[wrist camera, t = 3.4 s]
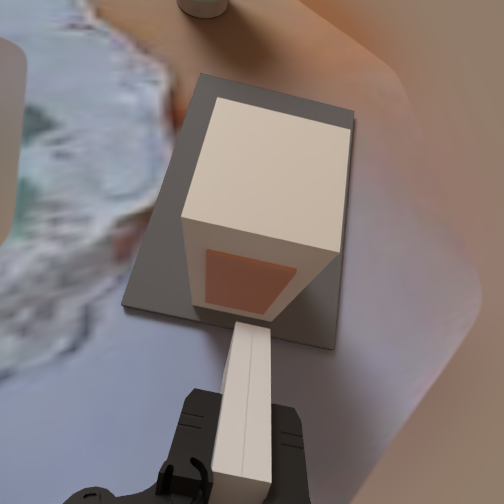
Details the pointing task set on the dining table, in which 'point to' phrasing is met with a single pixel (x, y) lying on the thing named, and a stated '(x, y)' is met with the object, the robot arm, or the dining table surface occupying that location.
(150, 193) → the dining table surface
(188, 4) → the coffee cup
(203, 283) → the cream block
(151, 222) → the charcoal mat
